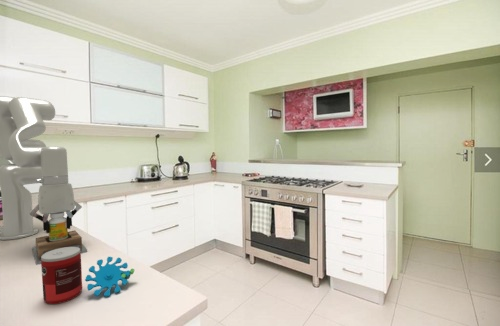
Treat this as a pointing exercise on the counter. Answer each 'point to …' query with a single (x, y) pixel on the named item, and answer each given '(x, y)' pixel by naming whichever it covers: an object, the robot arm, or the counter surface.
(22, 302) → the counter surface
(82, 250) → the jig plate
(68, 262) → the canned food
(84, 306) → the counter surface
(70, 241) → the frame
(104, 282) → the gear
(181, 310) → the counter surface
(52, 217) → the supplement bottle
